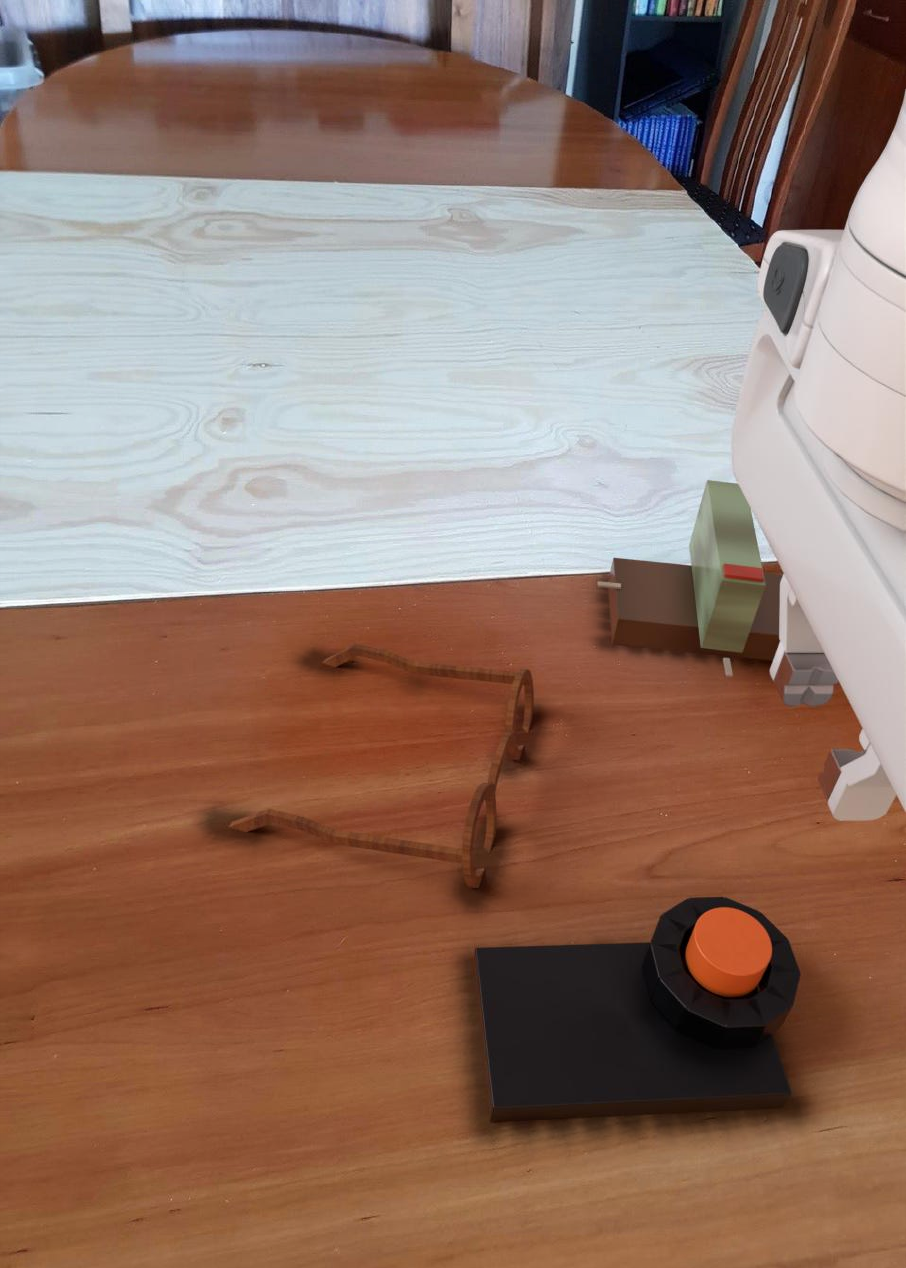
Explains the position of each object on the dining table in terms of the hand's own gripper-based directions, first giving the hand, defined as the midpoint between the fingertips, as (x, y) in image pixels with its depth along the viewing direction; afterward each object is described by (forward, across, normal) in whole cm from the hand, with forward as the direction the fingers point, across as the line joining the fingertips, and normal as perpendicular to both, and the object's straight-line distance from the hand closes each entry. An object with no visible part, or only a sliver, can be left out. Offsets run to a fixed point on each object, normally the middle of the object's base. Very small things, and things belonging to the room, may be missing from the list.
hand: (820, 745), depth 36 cm
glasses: (+17, +14, +14) cm, 26 cm away
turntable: (+17, +25, -7) cm, 31 cm away
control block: (+17, -2, +4) cm, 18 cm away
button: (+13, 0, 0) cm, 13 cm away
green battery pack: (+14, +25, -7) cm, 30 cm away
